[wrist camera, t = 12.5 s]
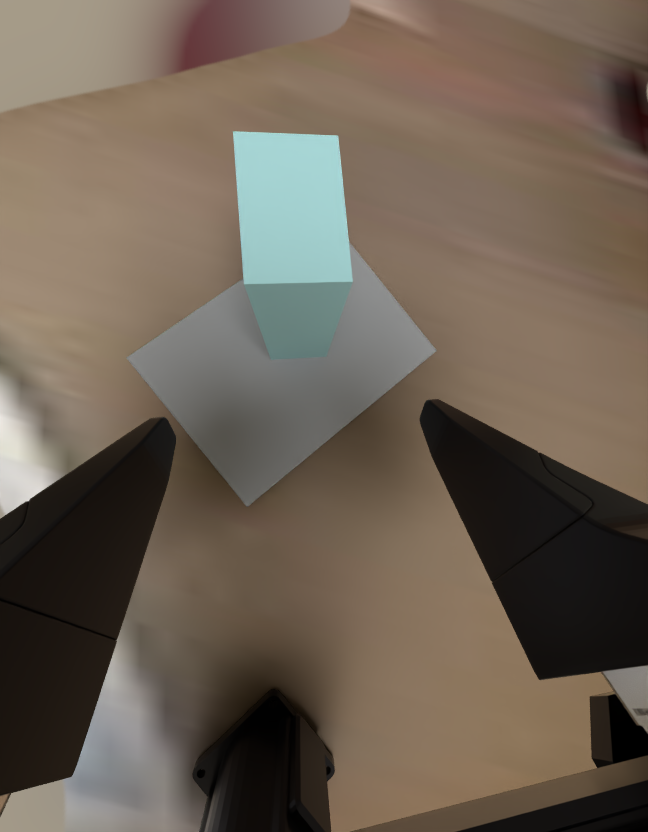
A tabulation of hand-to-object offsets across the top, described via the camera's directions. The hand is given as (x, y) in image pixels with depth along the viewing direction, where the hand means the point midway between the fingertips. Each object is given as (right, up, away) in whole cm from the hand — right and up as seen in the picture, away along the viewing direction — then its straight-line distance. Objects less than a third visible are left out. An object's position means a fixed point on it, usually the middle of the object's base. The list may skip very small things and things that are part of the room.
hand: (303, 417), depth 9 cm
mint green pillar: (-1, +7, +9) cm, 12 cm away
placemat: (-2, +5, +10) cm, 11 cm away
